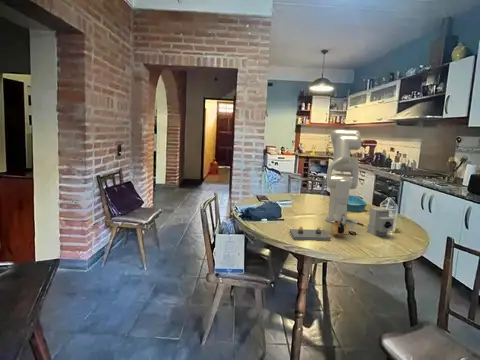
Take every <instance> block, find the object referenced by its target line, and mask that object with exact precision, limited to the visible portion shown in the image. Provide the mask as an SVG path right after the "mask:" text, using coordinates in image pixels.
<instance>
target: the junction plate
mask: <svg viewBox="0 0 480 360" xmlns="http://www.w3.org/2000/svg"><path fill="white" fill-rule="evenodd" d="M290 233H291V234H290ZM289 234H290V235H292V236H291V238H292V237H293V238H292V239H295V240H294V241H304V240H316V242H320V241H321V242H331V236H330V235H329V234H328V233H327V231H325V230H324V229H321V227H320V226H317V227H316V229H306V228H305V229H303V226H299V227H298V228H289Z"/></svg>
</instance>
